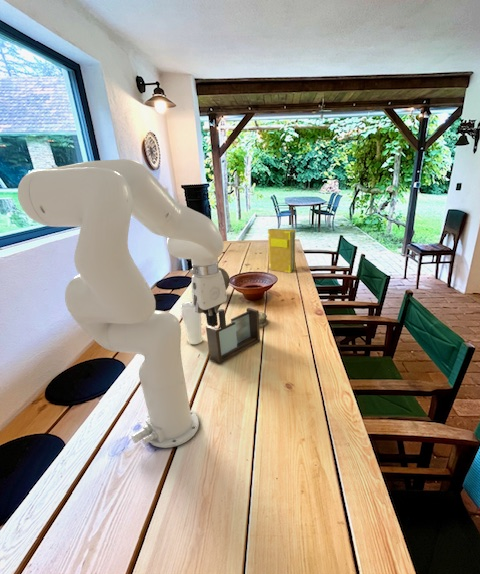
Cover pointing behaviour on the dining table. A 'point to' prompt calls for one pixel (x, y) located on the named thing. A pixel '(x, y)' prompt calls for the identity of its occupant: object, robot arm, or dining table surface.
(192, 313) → the drinking glass
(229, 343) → the sliding pane
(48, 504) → the dining table surface
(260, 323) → the cake
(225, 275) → the cantaloupe
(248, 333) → the window frame
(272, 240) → the book
